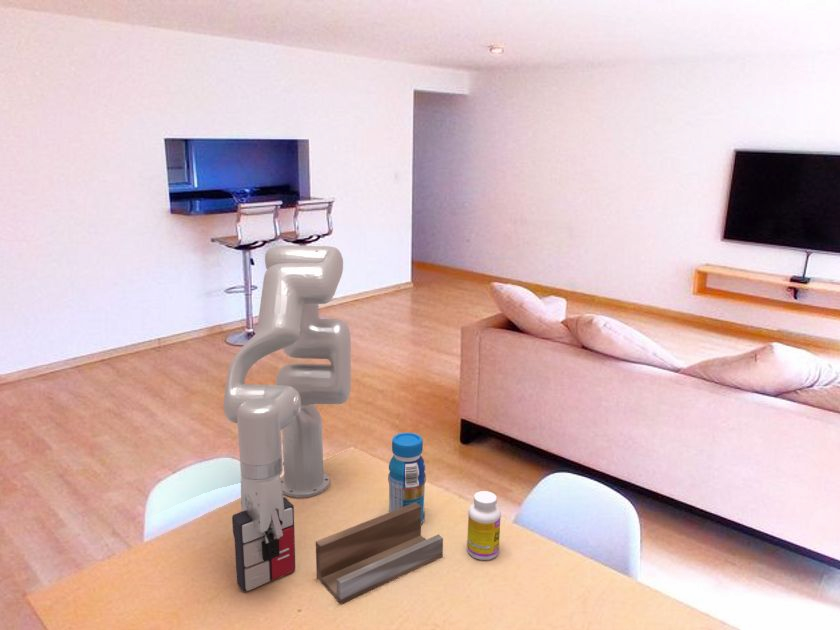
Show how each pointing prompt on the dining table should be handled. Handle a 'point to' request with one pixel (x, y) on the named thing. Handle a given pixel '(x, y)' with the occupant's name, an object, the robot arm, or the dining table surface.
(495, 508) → the supplement bottle
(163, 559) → the dining table surface
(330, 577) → the wooden channel stand
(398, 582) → the dining table surface
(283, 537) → the calculator
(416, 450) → the beverage bottle
